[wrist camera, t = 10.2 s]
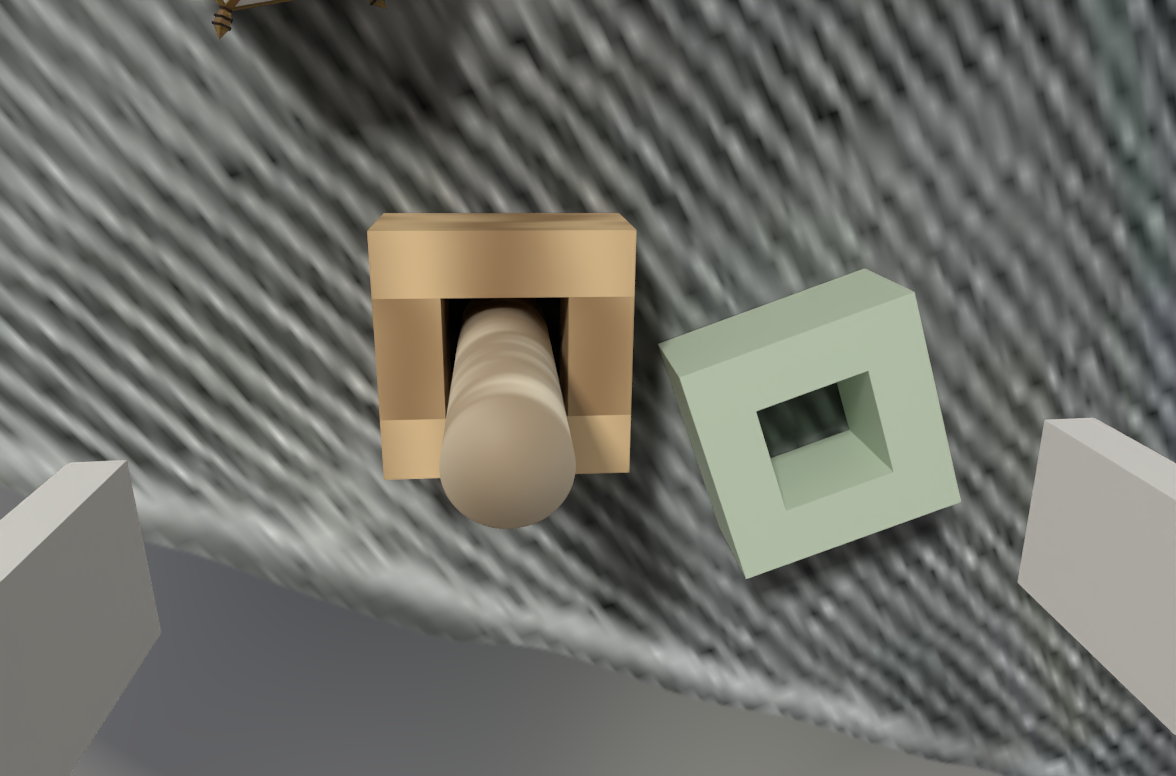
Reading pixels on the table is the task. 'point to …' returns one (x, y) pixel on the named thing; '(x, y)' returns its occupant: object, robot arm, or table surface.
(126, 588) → the robot arm
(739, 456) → the sage bead
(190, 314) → the table surface
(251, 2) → the game die
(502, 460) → the dowel
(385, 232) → the wooden square ring
